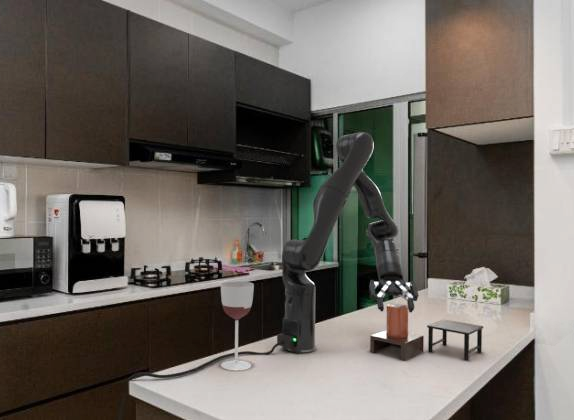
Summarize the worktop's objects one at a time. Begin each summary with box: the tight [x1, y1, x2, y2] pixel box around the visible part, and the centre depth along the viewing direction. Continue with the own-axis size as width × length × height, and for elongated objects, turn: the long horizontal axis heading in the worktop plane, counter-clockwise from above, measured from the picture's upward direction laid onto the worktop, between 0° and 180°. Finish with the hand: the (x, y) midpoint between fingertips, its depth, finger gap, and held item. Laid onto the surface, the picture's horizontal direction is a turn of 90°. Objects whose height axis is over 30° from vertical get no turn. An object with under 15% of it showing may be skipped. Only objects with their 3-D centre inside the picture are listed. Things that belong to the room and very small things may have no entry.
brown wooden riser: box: [369, 329, 425, 361], centre depth 142 cm, size 12×11×5 cm
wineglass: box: [220, 281, 255, 371], centre depth 129 cm, size 9×10×22 cm
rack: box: [426, 318, 484, 362], centre depth 143 cm, size 12×12×8 cm
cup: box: [385, 303, 409, 338], centre depth 142 cm, size 6×6×9 cm
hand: (396, 310), depth 143 cm, fingers open, 8 cm apart
